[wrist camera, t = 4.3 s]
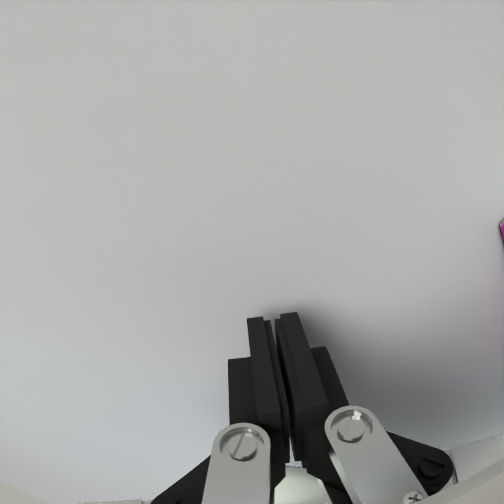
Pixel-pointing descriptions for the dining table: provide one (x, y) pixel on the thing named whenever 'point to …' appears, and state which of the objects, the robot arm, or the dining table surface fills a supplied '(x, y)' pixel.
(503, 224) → the candy bar box
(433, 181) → the dining table surface
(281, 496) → the white dome
